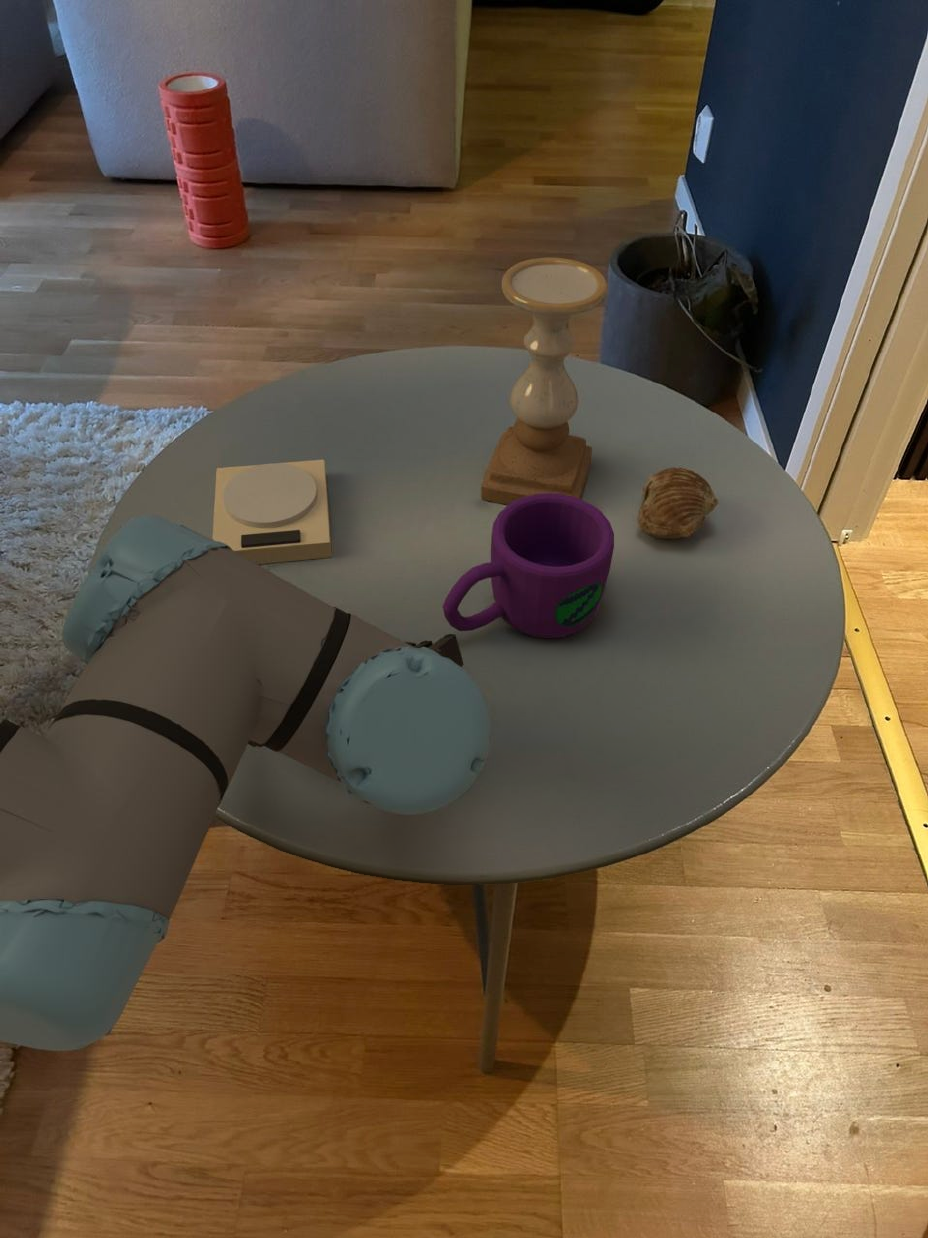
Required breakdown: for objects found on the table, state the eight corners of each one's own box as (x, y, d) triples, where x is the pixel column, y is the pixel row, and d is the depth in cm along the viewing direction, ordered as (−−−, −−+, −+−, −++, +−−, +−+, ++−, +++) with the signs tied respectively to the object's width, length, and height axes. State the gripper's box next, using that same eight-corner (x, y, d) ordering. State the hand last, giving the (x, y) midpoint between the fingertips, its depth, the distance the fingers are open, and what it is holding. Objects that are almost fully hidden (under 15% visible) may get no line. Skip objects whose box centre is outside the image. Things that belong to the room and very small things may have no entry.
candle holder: (575, 517, 100) (602, 316, 82) (479, 499, 102) (485, 299, 84) (592, 458, 107) (619, 262, 89) (502, 443, 109) (511, 248, 91)
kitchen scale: (215, 568, 94) (210, 546, 92) (220, 483, 103) (215, 462, 101) (332, 557, 95) (329, 536, 93) (326, 474, 104) (323, 453, 102)
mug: (559, 551, 96) (568, 476, 89) (625, 619, 89) (641, 545, 82) (415, 612, 90) (412, 537, 82) (475, 690, 83) (477, 616, 76)
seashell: (711, 512, 102) (641, 492, 103) (730, 461, 96) (657, 440, 98) (698, 563, 95) (624, 541, 96) (718, 511, 90) (640, 488, 91)
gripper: (171, 833, 51) (181, 771, 72) (564, 702, 58) (471, 680, 78) (133, 706, 51) (154, 681, 71) (534, 589, 57) (448, 596, 78)
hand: (320, 680), depth 75 cm, fingers open, 13 cm apart
